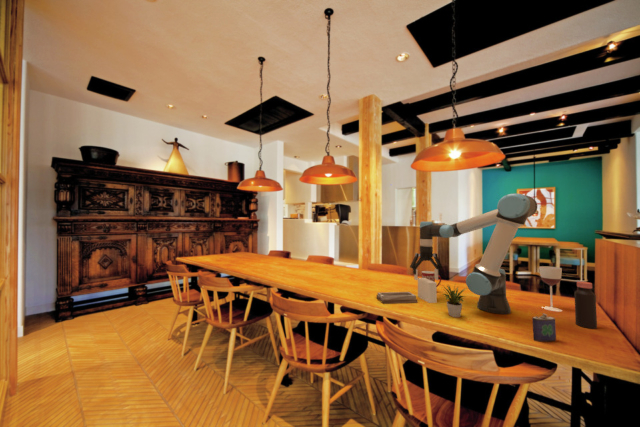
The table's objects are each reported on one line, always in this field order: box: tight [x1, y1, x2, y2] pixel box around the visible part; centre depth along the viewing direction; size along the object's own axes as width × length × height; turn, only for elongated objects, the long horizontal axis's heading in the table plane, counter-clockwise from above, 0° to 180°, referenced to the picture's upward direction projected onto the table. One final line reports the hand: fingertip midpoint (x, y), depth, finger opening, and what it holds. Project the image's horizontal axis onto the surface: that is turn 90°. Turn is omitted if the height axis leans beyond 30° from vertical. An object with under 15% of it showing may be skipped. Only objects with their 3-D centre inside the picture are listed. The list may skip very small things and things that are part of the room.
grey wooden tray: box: [376, 291, 418, 305], centre depth 152 cm, size 12×21×4 cm, turn 96°
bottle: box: [573, 281, 598, 330], centre depth 115 cm, size 7×7×20 cm
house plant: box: [439, 283, 468, 318], centre depth 128 cm, size 14×14×16 cm
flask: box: [531, 312, 557, 343], centre depth 100 cm, size 9×3×11 cm, turn 95°
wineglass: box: [538, 265, 563, 313], centre depth 139 cm, size 9×10×23 cm
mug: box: [421, 270, 442, 288], centre depth 173 cm, size 13×9×14 cm
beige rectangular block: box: [417, 277, 438, 304], centre depth 155 cm, size 13×5×12 cm, turn 6°
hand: (426, 279), depth 156 cm, fingers open, 13 cm apart
